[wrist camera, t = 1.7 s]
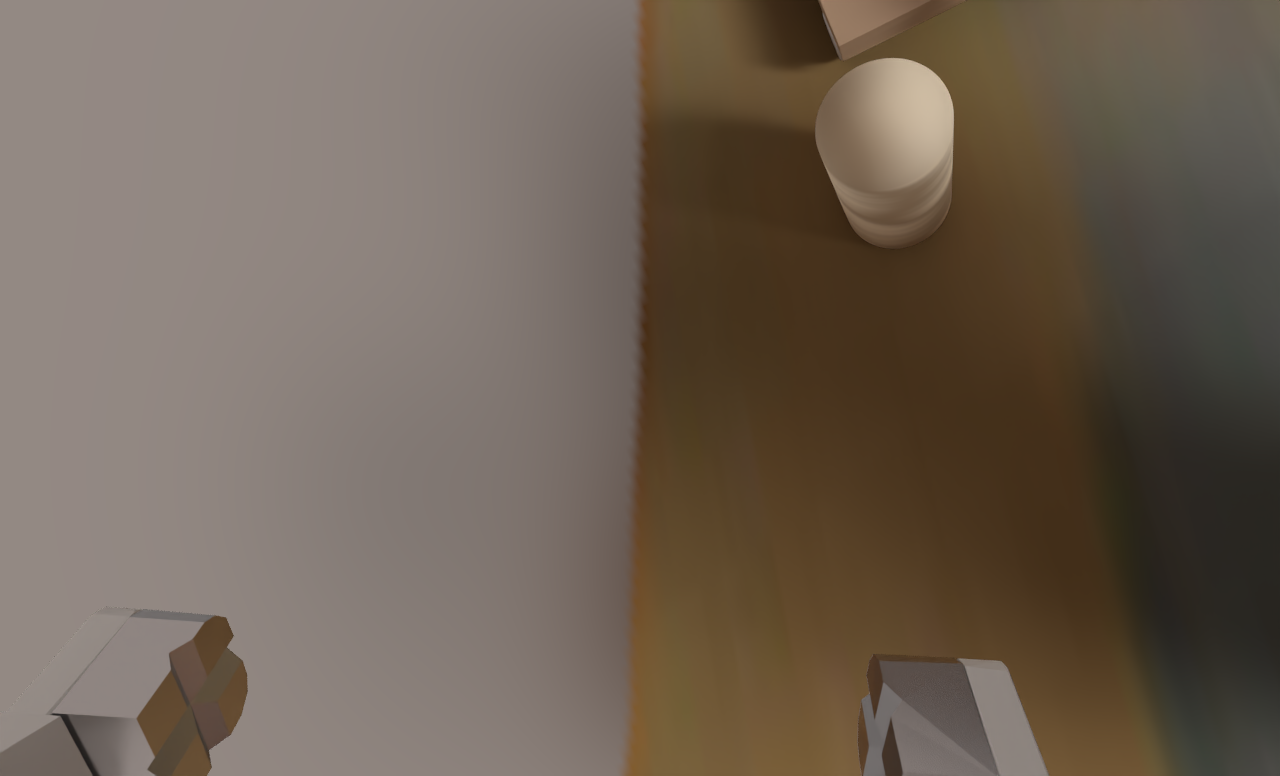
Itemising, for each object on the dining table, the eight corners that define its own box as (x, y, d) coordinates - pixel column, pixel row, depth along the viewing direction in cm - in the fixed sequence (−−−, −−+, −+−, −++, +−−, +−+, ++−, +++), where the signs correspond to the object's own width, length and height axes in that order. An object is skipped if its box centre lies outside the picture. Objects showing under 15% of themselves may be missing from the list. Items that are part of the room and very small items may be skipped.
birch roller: (928, 130, 40) (923, 34, 31) (968, 222, 39) (975, 152, 30) (829, 174, 42) (796, 96, 32) (866, 265, 41) (842, 211, 31)
